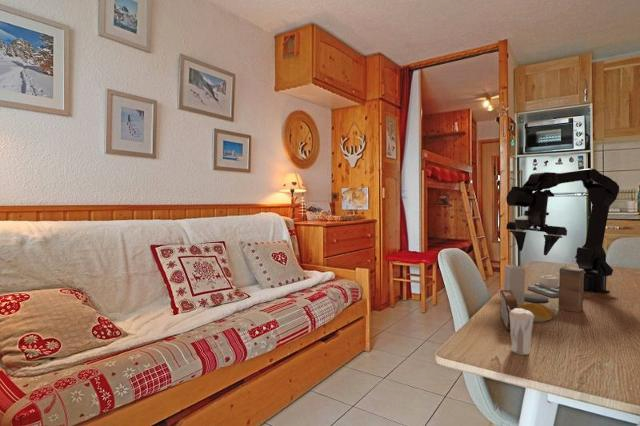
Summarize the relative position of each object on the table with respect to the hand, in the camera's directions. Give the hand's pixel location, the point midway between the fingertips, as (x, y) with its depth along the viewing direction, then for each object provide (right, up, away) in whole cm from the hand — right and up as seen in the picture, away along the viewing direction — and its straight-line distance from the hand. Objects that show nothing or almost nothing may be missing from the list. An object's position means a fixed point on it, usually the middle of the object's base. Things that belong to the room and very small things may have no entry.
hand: (532, 253), depth 128 cm
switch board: (+8, -14, +1) cm, 16 cm away
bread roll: (-15, -15, -27) cm, 34 cm away
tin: (-26, -15, -33) cm, 45 cm away
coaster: (-5, -14, -8) cm, 17 cm away
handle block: (+1, -15, -19) cm, 24 cm away
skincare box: (-15, -15, -16) cm, 26 cm away
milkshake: (-32, -16, -50) cm, 62 cm away
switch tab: (+8, -13, +3) cm, 15 cm away
